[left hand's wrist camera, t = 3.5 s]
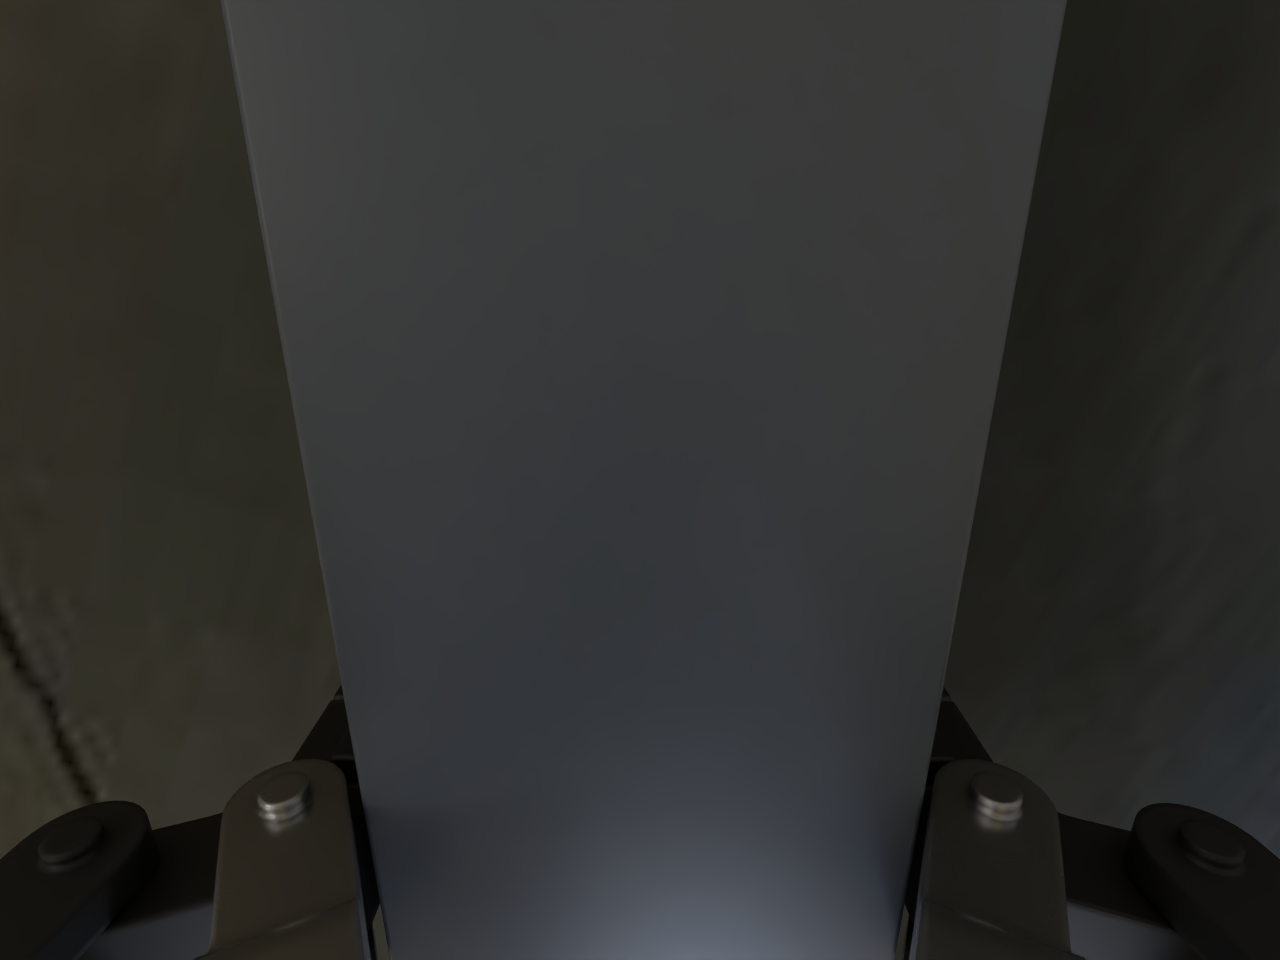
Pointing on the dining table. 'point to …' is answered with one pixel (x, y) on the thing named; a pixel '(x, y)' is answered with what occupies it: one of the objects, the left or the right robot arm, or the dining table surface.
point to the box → (643, 439)
